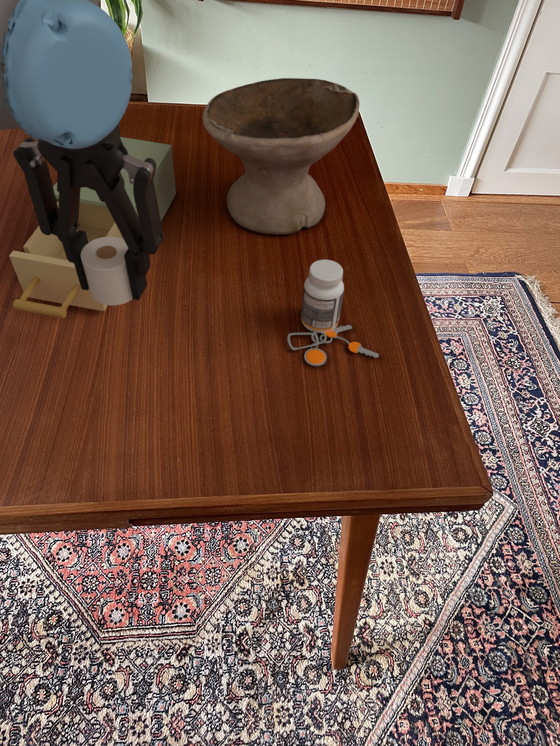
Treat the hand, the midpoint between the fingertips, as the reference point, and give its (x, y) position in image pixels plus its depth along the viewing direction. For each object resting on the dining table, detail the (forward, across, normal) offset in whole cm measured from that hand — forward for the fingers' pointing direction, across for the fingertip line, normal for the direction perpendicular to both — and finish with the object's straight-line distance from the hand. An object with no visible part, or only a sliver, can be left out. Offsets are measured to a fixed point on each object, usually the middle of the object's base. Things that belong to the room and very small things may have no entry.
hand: (114, 286), depth 68 cm
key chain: (+15, -26, -11) cm, 32 cm away
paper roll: (0, 0, 0) cm, 0 cm away
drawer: (+14, +14, -14) cm, 24 cm away
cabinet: (+15, +14, -31) cm, 38 cm away
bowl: (+16, -11, -43) cm, 47 cm away
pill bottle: (+15, -24, -15) cm, 32 cm away
